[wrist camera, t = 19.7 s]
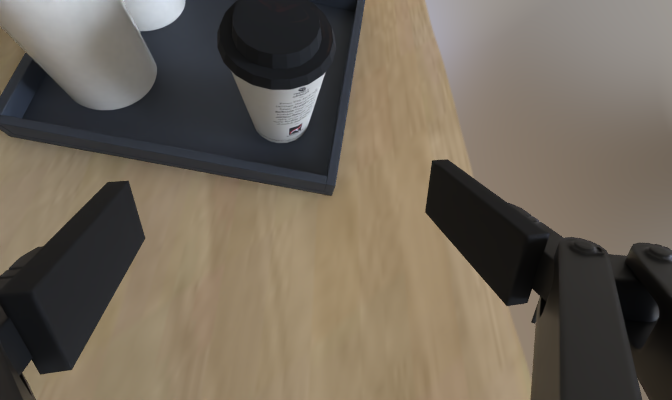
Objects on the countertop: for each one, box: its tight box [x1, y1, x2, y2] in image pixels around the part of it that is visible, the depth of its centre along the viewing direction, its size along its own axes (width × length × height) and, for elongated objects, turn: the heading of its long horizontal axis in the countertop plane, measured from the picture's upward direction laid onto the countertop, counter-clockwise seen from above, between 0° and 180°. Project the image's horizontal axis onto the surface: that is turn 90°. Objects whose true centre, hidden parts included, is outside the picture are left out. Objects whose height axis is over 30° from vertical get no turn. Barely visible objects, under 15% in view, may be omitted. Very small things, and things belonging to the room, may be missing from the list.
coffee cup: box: [217, 0, 336, 143], centre depth 24 cm, size 7×7×10 cm
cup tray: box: [0, 0, 365, 196], centre depth 29 cm, size 24×19×2 cm
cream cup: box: [0, 0, 157, 110], centre depth 23 cm, size 7×7×10 cm
